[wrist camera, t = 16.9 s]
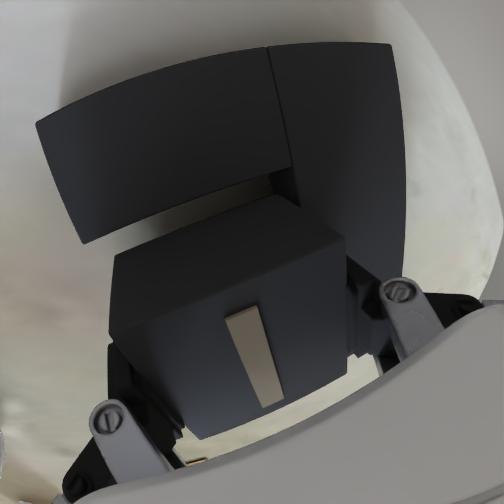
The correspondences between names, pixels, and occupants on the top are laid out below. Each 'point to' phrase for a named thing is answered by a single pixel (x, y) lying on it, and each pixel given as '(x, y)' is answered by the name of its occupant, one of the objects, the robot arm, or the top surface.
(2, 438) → the plastic bottle
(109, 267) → the top surface
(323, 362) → the dark grey square block
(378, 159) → the dark grey u-shaped block
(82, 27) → the top surface
